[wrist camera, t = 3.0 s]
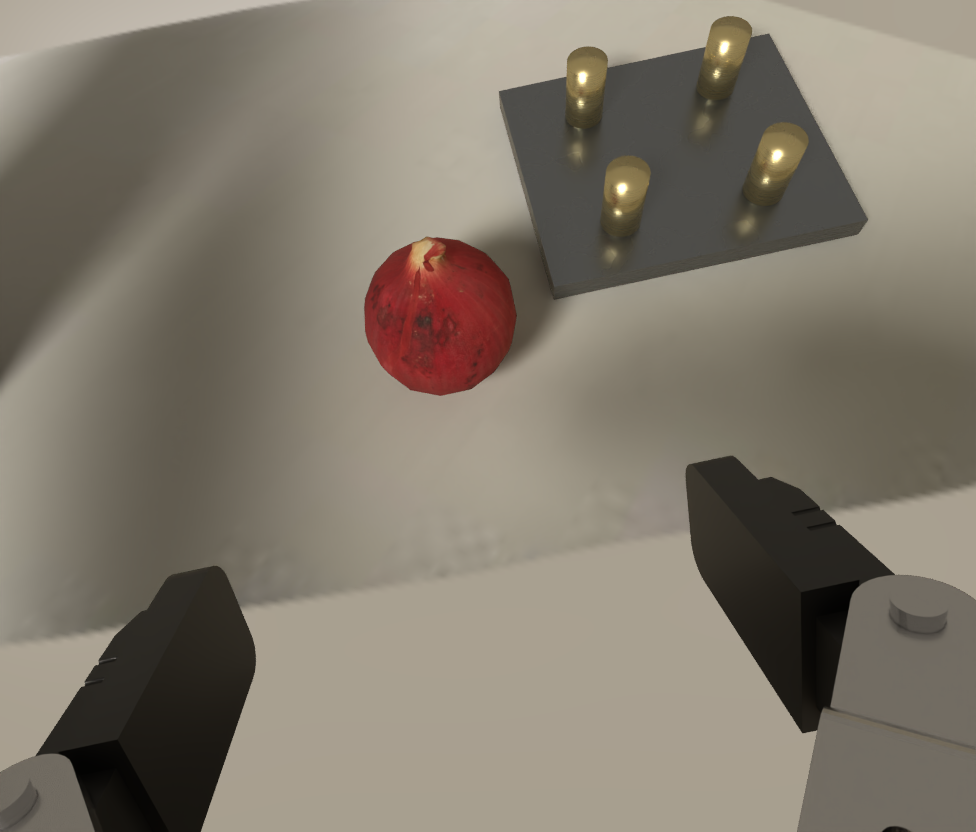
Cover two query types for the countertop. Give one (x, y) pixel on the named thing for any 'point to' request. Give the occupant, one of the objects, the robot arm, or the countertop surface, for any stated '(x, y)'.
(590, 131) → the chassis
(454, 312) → the onion
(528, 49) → the countertop surface
